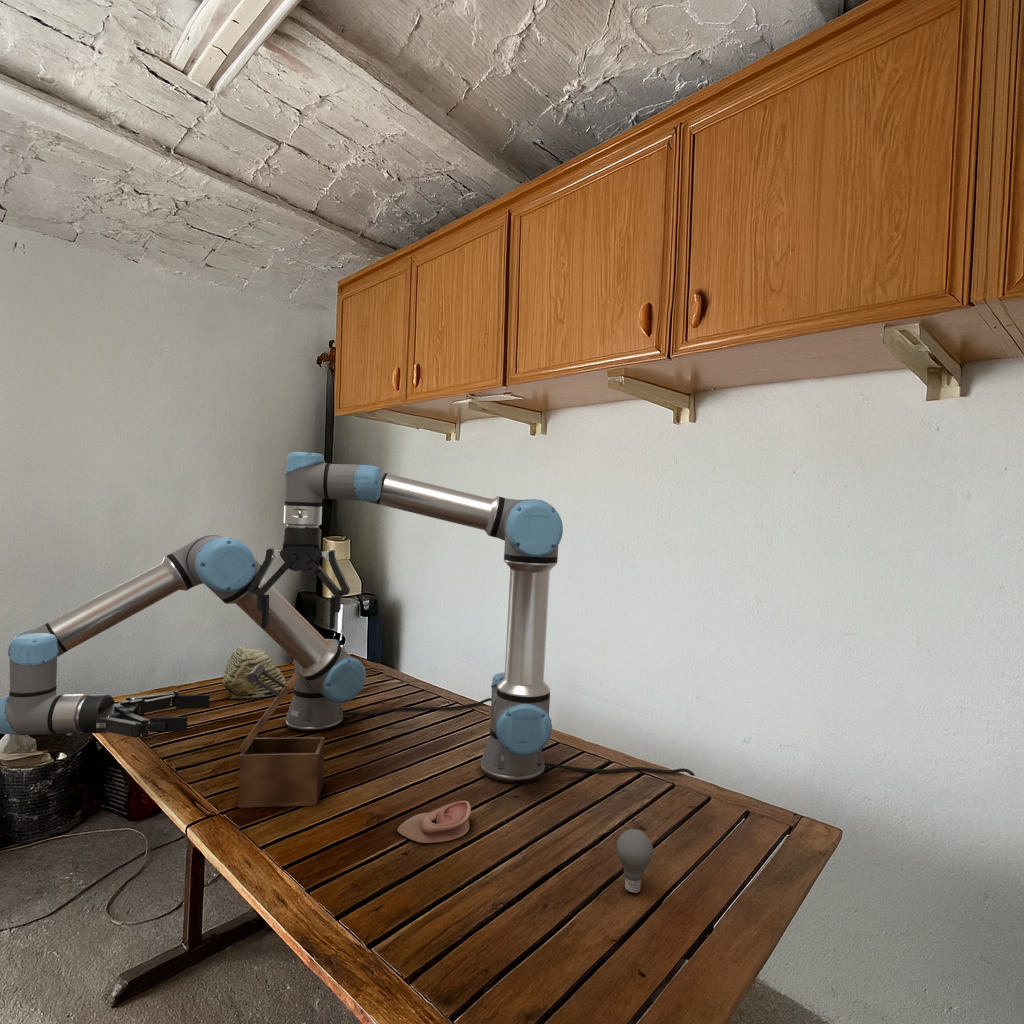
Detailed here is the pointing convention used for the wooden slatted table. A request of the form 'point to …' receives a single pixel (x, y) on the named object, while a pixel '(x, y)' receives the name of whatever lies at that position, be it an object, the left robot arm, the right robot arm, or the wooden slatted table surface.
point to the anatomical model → (438, 824)
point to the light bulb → (634, 857)
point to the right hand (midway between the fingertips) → (298, 627)
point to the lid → (253, 678)
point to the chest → (281, 772)
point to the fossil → (242, 665)
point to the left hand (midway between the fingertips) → (198, 712)
